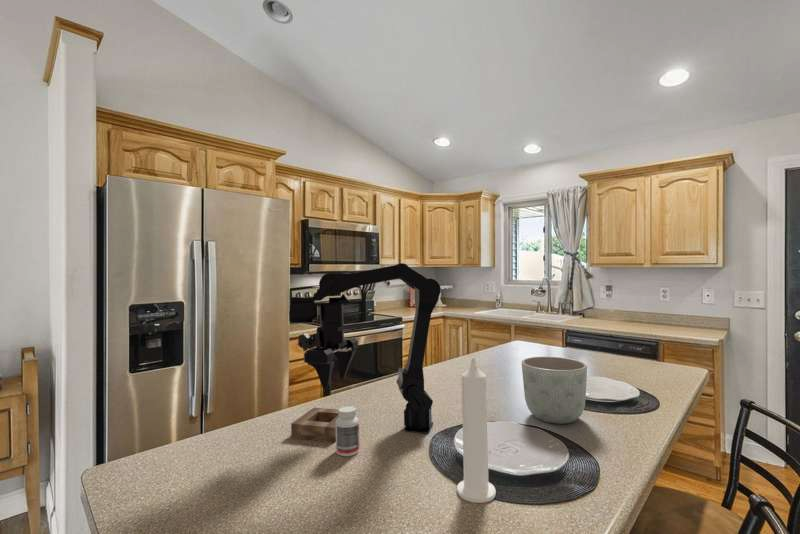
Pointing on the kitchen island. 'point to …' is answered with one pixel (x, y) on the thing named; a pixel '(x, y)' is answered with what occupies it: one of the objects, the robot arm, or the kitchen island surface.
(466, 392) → the candle
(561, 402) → the planter
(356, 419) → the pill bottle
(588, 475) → the kitchen island surface
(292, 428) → the socket block
